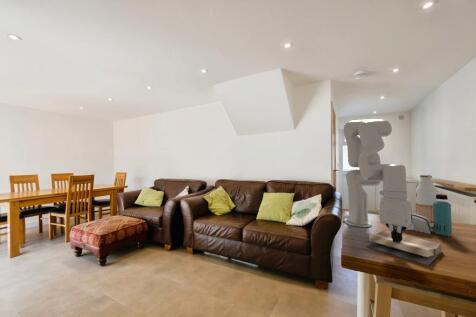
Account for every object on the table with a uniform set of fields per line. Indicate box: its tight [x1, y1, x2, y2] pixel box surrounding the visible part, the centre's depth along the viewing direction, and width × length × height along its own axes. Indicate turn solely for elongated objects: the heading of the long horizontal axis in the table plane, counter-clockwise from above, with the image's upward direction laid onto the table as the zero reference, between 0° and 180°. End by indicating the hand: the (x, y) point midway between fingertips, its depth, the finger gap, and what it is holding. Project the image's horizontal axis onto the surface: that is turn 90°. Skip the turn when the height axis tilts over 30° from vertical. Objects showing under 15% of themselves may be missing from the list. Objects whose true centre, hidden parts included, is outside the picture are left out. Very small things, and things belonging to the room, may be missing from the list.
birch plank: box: [368, 233, 434, 257], centre depth 83 cm, size 19×8×2 cm, turn 34°
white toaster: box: [395, 212, 434, 235], centre depth 108 cm, size 17×5×10 cm, turn 32°
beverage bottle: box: [432, 193, 453, 236], centre depth 98 cm, size 6×7×20 cm
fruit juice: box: [415, 174, 439, 227], centre depth 114 cm, size 9×9×28 cm
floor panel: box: [365, 230, 442, 267], centre depth 85 cm, size 20×18×3 cm
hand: (397, 241), depth 81 cm, fingers closed
